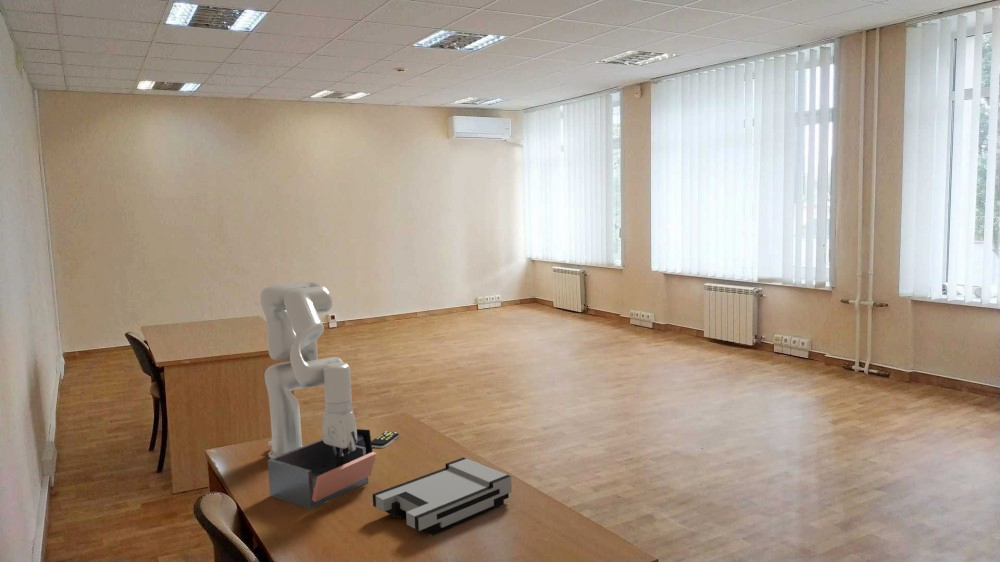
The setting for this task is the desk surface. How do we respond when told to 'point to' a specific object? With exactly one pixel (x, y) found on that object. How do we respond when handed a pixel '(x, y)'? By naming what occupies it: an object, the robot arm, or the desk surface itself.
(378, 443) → the remote control
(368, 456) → the tailgate
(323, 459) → the box
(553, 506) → the desk surface
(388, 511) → the game console
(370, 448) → the speaker
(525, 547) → the desk surface
